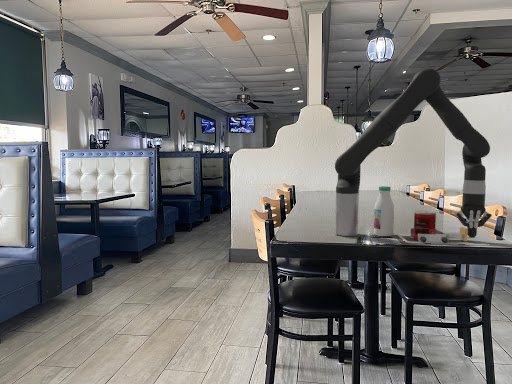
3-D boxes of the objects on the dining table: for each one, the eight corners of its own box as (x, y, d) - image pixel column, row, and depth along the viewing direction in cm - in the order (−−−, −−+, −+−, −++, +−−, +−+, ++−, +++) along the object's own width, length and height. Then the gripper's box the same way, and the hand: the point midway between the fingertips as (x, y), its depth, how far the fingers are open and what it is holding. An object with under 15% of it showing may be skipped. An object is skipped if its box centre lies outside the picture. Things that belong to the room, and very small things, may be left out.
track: (406, 242, 145) (406, 242, 145) (397, 235, 160) (397, 234, 160) (489, 245, 141) (489, 244, 141) (472, 237, 156) (472, 236, 156)
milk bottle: (393, 233, 163) (394, 186, 161) (393, 237, 156) (394, 187, 154) (374, 232, 165) (375, 185, 164) (373, 236, 158) (374, 187, 157)
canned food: (430, 237, 155) (431, 210, 154) (438, 241, 147) (439, 213, 146) (410, 237, 156) (411, 210, 155) (417, 241, 148) (418, 212, 147)
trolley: (419, 242, 144) (419, 230, 144) (409, 234, 159) (409, 223, 159) (472, 243, 142) (473, 231, 141) (457, 236, 156) (457, 225, 156)
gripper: (459, 192, 144) (457, 238, 146) (497, 193, 143) (494, 239, 144) (451, 191, 152) (450, 235, 153) (488, 191, 150) (485, 236, 151)
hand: (471, 237), depth 149 cm, fingers closed
